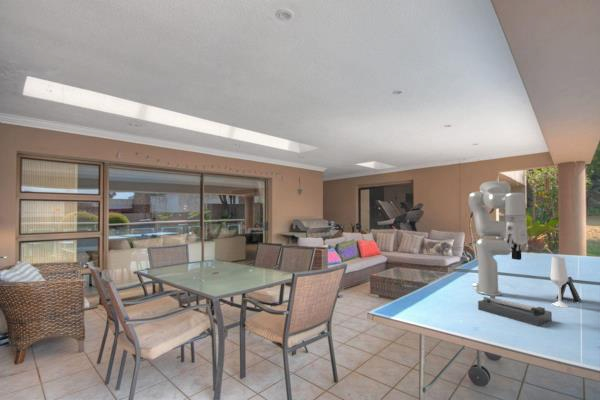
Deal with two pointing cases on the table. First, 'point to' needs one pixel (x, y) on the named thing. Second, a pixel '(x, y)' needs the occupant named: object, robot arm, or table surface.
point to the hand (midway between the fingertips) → (516, 259)
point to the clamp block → (516, 312)
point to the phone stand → (572, 289)
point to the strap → (511, 304)
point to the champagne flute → (559, 276)
